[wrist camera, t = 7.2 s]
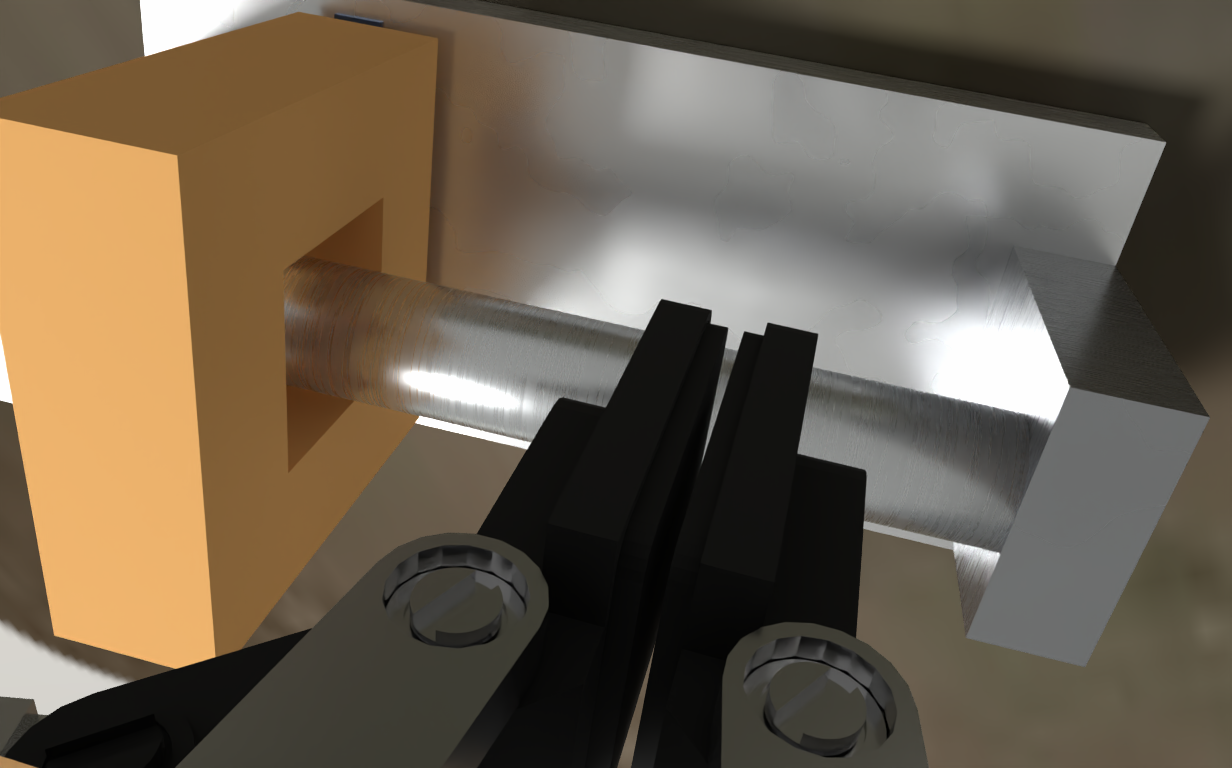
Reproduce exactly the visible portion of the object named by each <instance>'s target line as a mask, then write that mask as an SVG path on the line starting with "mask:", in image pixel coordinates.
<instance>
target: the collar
mask: <svg viewBox="0 0 1232 768" xmlns="http://www.w3.org/2000/svg"><path fill="white" fill-rule="evenodd" d="M437 53H438V38H435V37H429V36H424V35H419V34H414V33H408V32H403V31H398V30H392V29H387V28H382V27H377V26H371V25H366V24H361V23H356V22H350V21H345V20H340V19H335V18H329V17H324V16H319V15H313V14H308V13H303V12H296V13H292V14H289V15H285V16H282V17H279V18H275V19H272V20H268V21H265V22H261V23H258V24H254V25H251V26H247V27H244V28H241V29H237V30H234V31H230V32H227V33H223V34H220V35H216V36H213V37H209V38H206V39H203V40H199V41H196V42H192V43H189V44H185V45H182V46H178V47H175V48H171V49H168V50H165V51H161V52H158V53H154V54H151V55H147V56H144V57H140V58H137V59H133V60H130V61H127V62H123V63H120V64H116V65H113V66H109V67H106V68H102V69H99V70H95V71H92V72H89V73H85V74H82V75H78V76H75V77H71V78H68V79H64V80H61V81H58V82H54V83H51V84H47V85H44V86H40V87H37V88H33V89H30V90H26V91H23V92H20V93H16V94H13V95H9V96H6V97H2V98H0V335H1V341H2V347H3V352H4V358H5V363H6V369H7V374H8V380H9V385H10V391H11V397H12V402H13V408H14V413H15V419H16V424H17V430H18V435H19V441H20V447H21V452H22V458H23V463H24V469H25V474H26V480H27V486H28V491H29V497H30V502H31V508H32V513H33V519H34V524H35V530H36V536H37V541H38V547H39V552H40V558H41V563H42V569H43V574H44V580H45V586H46V591H47V597H48V602H49V608H50V613H51V619H52V624H53V630H54V635H55V636H58V637H62V638H66V639H69V640H73V641H77V642H80V643H84V644H88V645H91V646H95V647H99V648H102V649H106V650H110V651H113V652H117V653H121V654H124V655H128V656H132V657H135V658H139V659H142V660H146V661H150V662H153V663H157V664H161V665H164V666H168V667H172V668H175V669H177V668H181V667H184V666H187V665H191V664H194V663H197V662H201V661H204V660H207V659H211V658H214V657H217V656H221V655H224V654H228V653H231V652H234V651H238V650H241V648H242V647H243V646H244V645H245V643H246V642H247V641H248V639H249V638H250V637H251V635H252V634H253V633H254V632H255V630H256V629H257V628H258V626H259V625H260V624H261V623H262V621H263V620H264V619H265V617H266V616H267V615H268V613H269V612H270V611H271V610H272V608H273V607H274V606H275V604H276V603H277V602H278V600H279V599H280V598H281V597H282V595H283V594H284V593H285V591H286V590H287V589H288V587H289V586H290V585H291V584H292V582H293V581H294V580H295V578H296V577H297V576H298V574H299V573H300V572H301V571H302V569H303V568H304V567H305V565H306V564H307V563H308V562H309V560H310V559H311V558H312V556H313V555H314V554H315V552H316V551H317V550H318V549H319V547H320V546H321V545H322V543H323V542H324V541H325V539H326V538H327V537H328V536H329V534H330V533H331V532H332V530H333V529H334V528H335V526H336V525H337V524H338V523H339V521H340V520H341V519H342V517H343V516H344V515H345V514H346V512H347V511H348V510H349V508H350V507H351V506H352V504H353V503H354V502H355V501H356V499H357V498H358V497H359V495H360V494H361V493H362V491H363V490H364V489H365V488H366V486H367V485H368V484H369V482H370V481H371V480H372V478H373V477H374V476H375V475H376V473H377V472H378V471H379V469H380V468H381V467H382V466H383V464H384V463H385V462H386V460H387V459H388V458H389V456H390V455H391V454H392V453H393V451H394V450H395V449H396V447H397V446H398V445H399V443H400V442H401V441H402V440H403V438H404V437H405V436H406V434H407V433H408V432H409V430H410V429H411V428H412V427H413V425H414V424H415V423H416V421H417V420H418V419H419V416H417V415H413V414H408V413H404V412H400V411H396V410H391V409H387V408H383V407H379V406H374V405H370V404H366V403H362V402H357V401H353V400H349V399H345V398H340V397H336V396H332V395H328V394H323V393H319V392H315V391H311V390H306V389H302V388H298V387H294V386H289V385H286V358H285V318H284V278H283V270H285V269H286V268H287V267H289V266H290V265H292V264H293V263H294V262H296V261H297V260H298V259H300V258H301V257H302V256H309V257H313V258H318V259H323V260H327V261H332V262H336V263H341V264H345V265H350V266H355V267H359V268H364V269H368V270H373V271H377V272H382V273H386V274H391V275H396V276H400V277H405V278H409V279H414V280H418V281H423V282H426V272H427V252H428V232H429V212H430V192H431V172H432V153H433V133H434V113H435V93H436V73H437Z"/></svg>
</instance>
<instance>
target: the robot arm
mask: <svg viewBox="0 0 1232 768" xmlns="http://www.w3.org/2000/svg"><path fill="white" fill-rule="evenodd" d="M711 317H712V310H709V309H705V308H700V307H696V306H691V305H687V304H682V303H678V302H673V301H669V300H664V299H661V300H660V302H659V304H658V305H657V307H656V309H655V311H654V313H653V315H652V317H651V319H650V321H649V323H648V325H647V327H646V329H645V331H644V333H643V335H642V337H641V339H640V341H639V343H638V345H637V347H636V349H635V351H634V353H633V355H632V357H631V359H630V361H629V363H628V365H627V367H626V369H625V371H624V373H623V375H622V377H621V379H620V381H619V383H618V384H617V386H616V388H615V390H614V392H613V394H612V396H611V398H610V400H609V402H608V404H607V406H606V407H602V406H598V405H594V404H589V403H585V402H581V401H577V400H573V399H569V398H564V397H562V398H559V399H558V400H557V401H556V403H555V404H554V405H553V407H552V408H551V410H550V412H549V414H548V415H547V417H546V419H545V420H544V422H543V424H542V425H541V427H540V429H539V430H538V432H537V434H536V435H535V437H534V439H533V440H532V442H531V444H530V445H529V447H528V449H527V450H526V452H525V454H524V456H523V457H522V459H521V461H520V462H519V464H518V466H517V467H516V469H515V471H514V472H513V474H512V476H511V477H510V479H509V481H508V482H507V484H506V486H505V487H504V489H503V491H502V492H501V494H500V496H499V498H498V499H497V501H496V503H495V504H494V506H493V508H492V509H491V511H490V513H489V514H488V516H487V518H486V519H485V521H484V523H483V524H482V526H481V528H480V529H479V531H478V533H477V534H467V533H444V534H438V535H432V536H425V537H421V538H418V539H416V540H413V541H411V542H408V543H406V544H403V545H401V546H398V547H397V548H395V549H394V550H393V551H391V552H390V553H389V554H387V555H386V556H385V557H383V558H382V559H381V560H379V561H378V562H377V563H376V564H375V565H374V566H373V567H372V568H371V569H370V570H369V571H368V572H367V573H366V574H365V575H364V576H363V577H362V578H361V579H360V580H359V581H358V582H357V583H356V584H355V585H354V586H353V587H352V589H351V590H350V591H349V592H348V593H347V594H346V595H345V596H344V597H343V598H342V599H341V600H340V601H339V602H338V603H337V604H336V605H335V606H334V607H333V608H332V609H331V610H330V611H329V612H328V613H327V614H326V615H325V616H324V617H323V618H322V619H321V620H320V621H319V622H318V623H317V624H316V625H315V626H314V627H313V628H311V629H308V630H305V631H301V632H298V633H294V634H291V635H288V636H284V637H281V638H278V639H274V640H271V641H268V642H264V643H261V644H258V645H254V646H251V647H248V648H244V649H241V650H238V651H234V652H231V653H228V654H224V655H221V656H217V657H214V658H211V659H207V660H204V661H201V662H197V663H194V664H191V665H187V666H184V667H181V668H177V669H174V670H171V671H167V672H164V673H161V674H157V675H154V676H150V677H147V678H144V679H140V680H137V681H134V682H130V683H127V684H124V685H120V686H117V687H114V688H110V689H107V690H104V691H100V692H97V693H94V694H91V695H89V696H86V697H84V698H82V699H79V700H77V701H74V702H72V703H69V704H67V705H64V706H62V707H60V708H59V709H57V710H56V711H54V712H53V713H51V714H50V715H39V714H38V713H37V710H36V706H35V702H34V700H33V699H23V698H10V697H0V768H617V766H618V763H619V759H620V756H621V753H622V750H623V746H624V743H625V740H626V737H627V733H628V730H629V727H630V724H631V720H632V717H633V714H634V710H635V707H636V704H637V701H638V697H639V694H640V691H641V688H642V684H643V681H644V678H645V675H646V671H647V668H648V665H649V662H650V658H651V655H652V652H653V648H654V645H655V648H654V653H653V658H652V663H651V668H650V673H649V678H648V684H647V689H646V694H645V699H644V704H643V709H642V715H641V720H640V725H639V730H638V735H637V740H636V746H635V751H634V756H633V761H632V766H631V768H929V766H928V761H927V756H926V751H925V746H924V741H923V736H922V730H921V725H920V720H919V715H918V710H917V707H916V704H915V702H914V699H913V697H912V694H911V691H910V689H909V686H908V684H907V683H906V682H905V680H904V679H903V678H902V676H901V675H900V674H899V673H898V671H897V670H896V669H895V667H894V666H893V665H892V663H891V662H889V661H888V660H887V659H886V658H884V657H883V656H882V655H881V654H879V653H878V652H877V651H876V650H874V649H873V648H872V647H871V646H869V645H868V644H866V643H864V642H862V641H860V640H858V639H856V630H857V615H858V600H859V586H860V571H861V556H862V542H863V527H864V512H865V498H866V483H867V472H866V471H865V470H864V469H860V468H856V467H851V466H847V465H843V464H839V463H835V462H831V461H827V460H822V459H818V458H814V457H810V456H806V455H802V454H797V453H798V448H799V442H800V436H801V431H802V425H803V419H804V414H805V408H806V402H807V397H808V391H809V386H810V380H811V374H812V369H813V363H814V357H815V352H816V346H817V340H818V333H813V332H809V331H804V330H800V329H795V328H791V327H786V326H782V325H777V324H773V323H768V322H767V326H766V329H765V333H764V335H759V334H755V333H750V332H746V331H744V333H743V336H742V339H741V342H740V346H739V349H738V352H737V355H736V358H735V361H734V364H733V368H732V371H731V374H730V377H729V380H728V383H727V386H726V390H725V393H724V396H723V399H722V402H721V405H720V408H719V412H718V415H717V418H716V421H715V424H714V427H713V430H712V434H711V437H710V440H709V443H708V446H707V449H706V452H705V456H704V459H703V455H704V450H705V445H706V440H707V435H708V430H709V425H710V420H711V415H712V410H713V405H714V400H715V395H716V390H717V385H718V380H719V375H720V371H721V366H722V361H723V356H724V351H725V346H726V341H727V335H728V327H724V326H719V325H715V324H711ZM702 460H703V462H702Z"/></svg>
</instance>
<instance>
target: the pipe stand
mask: <svg viewBox="0 0 1232 768" xmlns="http://www.w3.org/2000/svg"><path fill="white" fill-rule="evenodd" d="M140 4H141V16H142V27H143V38H144V50H145V56H147V55H151V54H154V53H158V52H161V51H165V50H168V49H171V48H175V47H178V46H182V45H185V44H189V43H192V42H196V41H199V40H203V39H206V38H209V37H213V36H216V35H220V34H223V33H227V32H230V31H234V30H237V29H241V28H244V27H247V26H251V25H254V24H258V23H261V22H265V21H268V20H272V19H275V18H279V17H282V16H285V15H289V14H292V13H296V12H303V13H308V14H313V15H319V16H324V17H329V18H335V19H340V20H345V21H350V22H356V23H361V24H366V25H371V26H377V27H382V28H387V29H392V30H398V31H403V32H408V33H414V34H419V35H424V36H429V37H435V38H438V53H437V73H436V93H435V113H434V133H433V153H432V172H431V192H430V212H429V232H428V252H427V272H426V282H423V281H418V280H414V279H409V278H405V277H400V276H396V275H391V274H386V273H382V272H377V271H373V270H368V269H364V268H359V267H355V266H350V265H345V264H341V263H336V262H332V261H327V260H323V259H318V258H313V257H309V256H302V257H301V258H300V259H298V260H297V261H296V262H294V263H293V264H292V265H290V266H289V267H287V268H286V269H285V270H283V278H284V318H285V358H286V385H289V386H294V387H298V388H302V389H306V390H311V391H315V392H319V393H323V394H328V395H332V396H336V397H340V398H345V399H349V400H353V401H357V402H362V403H366V404H370V405H374V406H379V407H383V408H387V409H391V410H396V411H400V412H404V413H408V414H413V415H417V416H419V419H418V420H417V421H416V423H419V424H423V425H427V426H432V427H436V428H440V429H444V430H449V431H453V432H457V433H461V434H465V435H470V436H474V437H478V438H482V439H487V440H491V441H495V442H499V443H503V444H508V445H512V446H516V447H520V448H525V449H528V447H529V445H530V444H531V442H532V440H533V439H534V437H535V435H536V434H537V432H538V430H539V429H540V427H541V425H542V424H543V422H544V420H545V419H546V417H547V415H548V414H549V412H550V410H551V408H552V407H553V405H554V404H555V403H556V401H557V400H558V399H559V398H562V397H564V398H569V399H573V400H577V401H581V402H585V403H589V404H594V405H598V406H602V407H606V406H607V404H608V402H609V400H610V398H611V396H612V394H613V392H614V390H615V388H616V386H617V384H618V383H619V381H620V379H621V377H622V375H623V373H624V371H625V369H626V367H627V365H628V363H629V361H630V359H631V357H632V355H633V353H634V351H635V349H636V347H637V345H638V343H639V341H640V339H641V337H642V335H643V333H644V331H645V329H646V327H647V325H648V323H649V321H650V319H651V317H652V315H653V313H654V311H655V309H656V307H657V305H658V304H659V302H660V300H661V299H664V300H669V301H673V302H678V303H682V304H687V305H691V306H696V307H700V308H705V309H709V310H712V317H711V324H715V325H719V326H724V327H728V335H727V341H726V346H725V351H724V356H723V361H722V366H721V371H720V375H719V380H718V385H717V390H716V395H715V400H714V405H713V410H712V415H711V420H710V425H709V430H708V435H707V440H706V445H705V450H704V455H703V459H704V456H705V452H706V449H707V446H708V443H709V440H710V437H711V434H712V430H713V427H714V424H715V421H716V418H717V415H718V412H719V408H720V405H721V402H722V399H723V396H724V393H725V390H726V386H727V383H728V380H729V377H730V374H731V371H732V368H733V364H734V361H735V358H736V355H737V352H738V349H739V346H740V342H741V339H742V336H743V333H744V331H746V332H750V333H755V334H759V335H764V333H765V329H766V326H767V322H768V323H773V324H777V325H782V326H786V327H791V328H795V329H800V330H804V331H809V332H813V333H818V340H817V346H816V352H815V357H814V363H813V369H812V374H811V380H810V386H809V391H808V397H807V402H806V408H805V414H804V419H803V425H802V431H801V436H800V442H799V448H798V453H797V454H802V455H806V456H810V457H814V458H818V459H822V460H827V461H831V462H835V463H839V464H843V465H847V466H851V467H856V468H860V469H864V470H865V471H866V472H867V483H866V498H865V512H864V527H863V529H867V530H871V531H876V532H880V533H884V534H888V535H892V536H897V537H901V538H905V539H909V540H914V541H918V542H922V543H926V544H930V545H935V546H939V547H943V548H947V549H952V550H954V555H955V563H956V570H957V577H958V584H959V591H960V599H961V606H962V613H963V620H964V628H965V635H966V638H969V639H973V640H977V641H981V642H985V643H989V644H993V645H997V646H1001V647H1005V648H1010V649H1014V650H1018V651H1022V652H1026V653H1030V654H1034V655H1038V656H1042V657H1046V658H1050V659H1054V660H1058V661H1062V662H1066V663H1070V664H1075V665H1079V666H1083V667H1085V666H1086V664H1087V662H1088V660H1089V658H1090V656H1091V654H1092V652H1093V650H1094V648H1095V646H1096V644H1097V642H1098V640H1099V638H1100V636H1101V634H1102V632H1103V630H1104V628H1105V626H1106V624H1107V622H1108V620H1109V618H1110V616H1111V614H1112V612H1113V610H1114V608H1115V606H1116V604H1117V602H1118V600H1119V598H1120V596H1121V594H1122V592H1123V590H1124V588H1125V586H1126V584H1127V582H1128V580H1129V578H1130V576H1131V574H1132V572H1133V570H1134V568H1135V566H1136V564H1137V562H1138V560H1139V558H1140V556H1141V554H1142V552H1143V550H1144V548H1145V546H1146V544H1147V542H1148V540H1149V538H1150V536H1151V534H1152V532H1153V530H1154V528H1155V526H1156V524H1157V522H1158V520H1159V518H1160V516H1161V514H1162V512H1163V510H1164V508H1165V506H1166V504H1167V502H1168V500H1169V498H1170V496H1171V494H1172V492H1173V490H1174V488H1175V486H1176V484H1177V482H1178V480H1179V478H1180V476H1181V474H1182V472H1183V470H1184V468H1185V466H1186V464H1187V462H1188V460H1189V458H1190V456H1191V454H1192V452H1193V450H1194V448H1195V446H1196V444H1197V442H1198V440H1199V438H1200V436H1201V434H1202V432H1203V430H1204V428H1205V426H1206V424H1207V422H1208V420H1209V418H1210V417H1209V415H1208V413H1207V412H1206V410H1205V409H1204V407H1203V405H1202V404H1201V402H1200V401H1199V399H1198V397H1197V396H1196V394H1195V393H1194V391H1193V389H1192V388H1191V386H1190V385H1189V383H1188V381H1187V380H1186V378H1185V376H1184V375H1183V373H1182V372H1181V370H1180V368H1179V367H1178V365H1177V364H1176V362H1175V360H1174V359H1173V357H1172V356H1171V354H1170V352H1169V351H1168V349H1167V348H1166V346H1165V344H1164V343H1163V341H1162V340H1161V338H1160V336H1159V335H1158V333H1157V331H1156V330H1155V328H1154V327H1153V325H1152V323H1151V322H1150V320H1149V319H1148V317H1147V315H1146V314H1145V312H1144V311H1143V309H1142V307H1141V306H1140V304H1139V303H1138V301H1137V299H1136V298H1135V296H1134V295H1133V293H1132V291H1131V290H1130V288H1129V286H1128V285H1127V283H1126V282H1125V280H1124V278H1123V277H1122V275H1121V274H1120V272H1119V270H1118V269H1117V267H1116V264H1117V261H1118V259H1119V256H1120V254H1121V251H1122V249H1123V246H1124V244H1125V242H1126V239H1127V237H1128V234H1129V232H1130V229H1131V227H1132V225H1133V222H1134V220H1135V217H1136V215H1137V212H1138V210H1139V208H1140V205H1141V203H1142V200H1143V198H1144V195H1145V193H1146V191H1147V188H1148V186H1149V183H1150V181H1151V178H1152V176H1153V174H1154V171H1155V169H1156V166H1157V164H1158V161H1159V159H1160V157H1161V154H1162V152H1163V149H1164V147H1165V144H1166V142H1165V141H1164V140H1163V139H1162V138H1161V137H1160V136H1159V135H1158V134H1157V133H1156V132H1155V131H1154V130H1153V129H1152V128H1151V127H1149V126H1148V125H1147V124H1146V123H1141V122H1135V121H1130V120H1124V119H1119V118H1113V117H1108V116H1103V115H1097V114H1092V113H1086V112H1081V111H1076V110H1070V109H1065V108H1059V107H1054V106H1048V105H1043V104H1038V103H1032V102H1027V101H1021V100H1016V99H1010V98H1005V97H1000V96H994V95H989V94H983V93H978V92H972V91H967V90H962V89H956V88H951V87H945V86H940V85H935V84H929V83H924V82H918V81H913V80H907V79H902V78H897V77H891V76H886V75H880V74H875V73H869V72H864V71H859V70H853V69H848V68H842V67H837V66H832V65H826V64H821V63H815V62H810V61H804V60H799V59H794V58H788V57H783V56H777V55H772V54H766V53H761V52H756V51H750V50H745V49H739V48H734V47H729V46H723V45H718V44H712V43H707V42H701V41H696V40H691V39H685V38H680V37H674V36H669V35H663V34H658V33H653V32H647V31H642V30H636V29H631V28H626V27H620V26H615V25H609V24H604V23H598V22H593V21H588V20H582V19H577V18H571V17H566V16H560V15H555V14H550V13H544V12H539V11H533V10H528V9H523V8H517V7H512V6H506V5H501V4H495V3H490V2H485V1H479V0H140ZM0 400H2V401H6V402H10V403H13V402H12V397H11V391H10V385H9V380H8V374H7V369H6V363H5V358H4V352H3V347H2V341H1V335H0ZM702 462H703V460H702Z"/></svg>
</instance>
